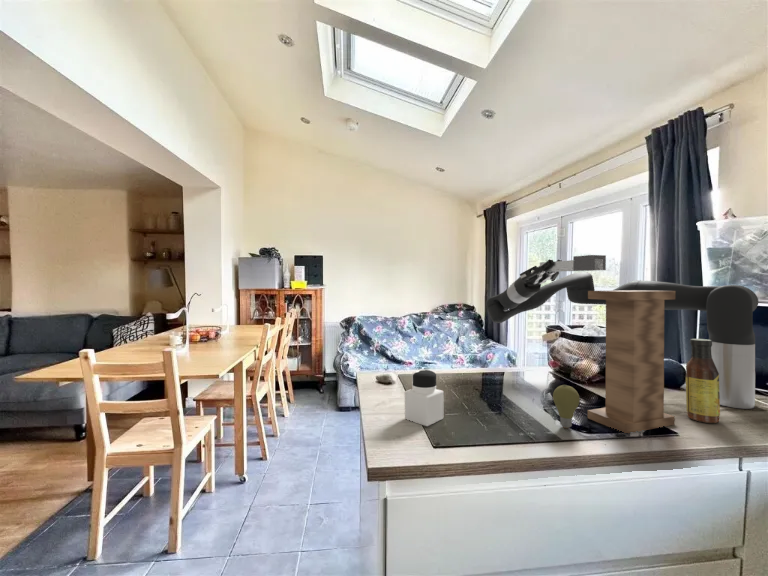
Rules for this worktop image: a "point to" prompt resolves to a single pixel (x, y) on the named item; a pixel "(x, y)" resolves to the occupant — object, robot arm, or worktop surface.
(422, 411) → the medicine bottle
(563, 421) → the light bulb
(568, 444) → the worktop surface
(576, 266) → the grey metal bar
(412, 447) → the worktop surface
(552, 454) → the worktop surface
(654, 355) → the stand
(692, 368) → the sauce bottle
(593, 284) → the robot arm
